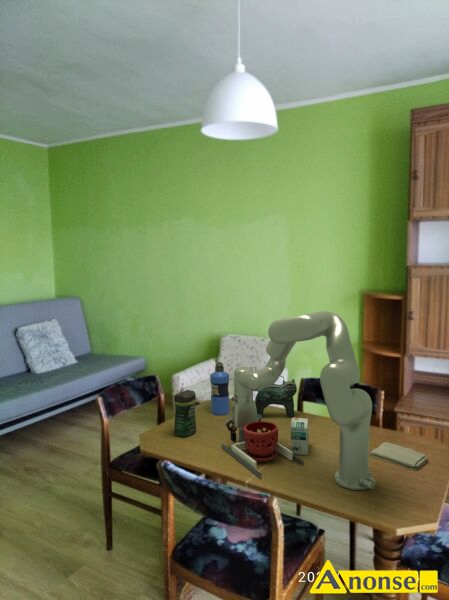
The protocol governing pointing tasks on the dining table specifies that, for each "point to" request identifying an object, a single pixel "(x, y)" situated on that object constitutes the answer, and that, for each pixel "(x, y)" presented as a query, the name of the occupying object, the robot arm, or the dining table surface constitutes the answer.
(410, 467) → the washcloth
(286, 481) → the dining table surface
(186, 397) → the coffee jar
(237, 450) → the white u-shaped frame
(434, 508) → the dining table surface
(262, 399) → the ceramic cat
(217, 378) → the water bottle
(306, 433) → the light bulb box
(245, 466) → the lane rails
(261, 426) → the plant pot
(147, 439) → the dining table surface
